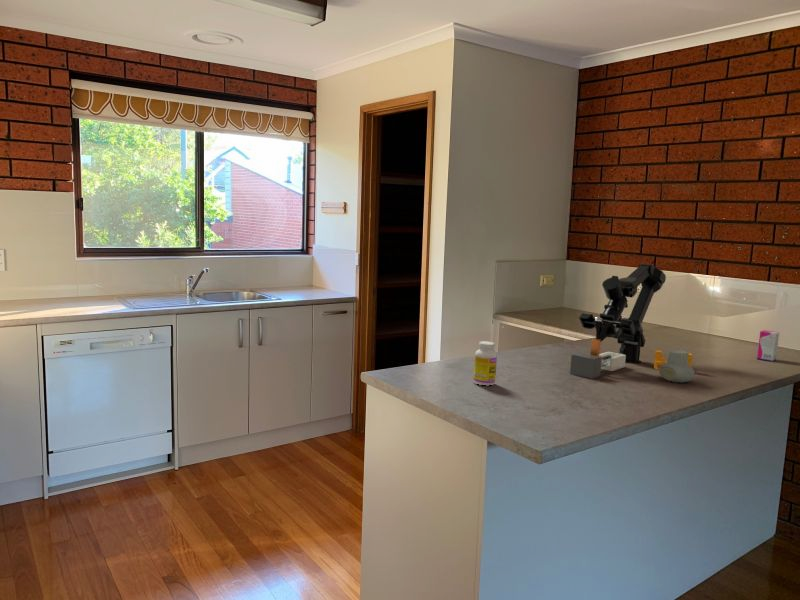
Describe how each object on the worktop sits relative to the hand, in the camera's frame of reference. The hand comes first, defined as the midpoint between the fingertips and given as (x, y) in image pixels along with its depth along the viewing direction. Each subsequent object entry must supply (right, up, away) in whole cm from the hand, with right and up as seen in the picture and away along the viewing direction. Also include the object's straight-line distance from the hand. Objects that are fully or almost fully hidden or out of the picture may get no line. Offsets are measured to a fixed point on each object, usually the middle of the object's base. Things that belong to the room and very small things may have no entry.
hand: (597, 342), depth 215 cm
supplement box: (+79, -10, +37) cm, 88 cm away
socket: (-5, -11, -4) cm, 12 cm away
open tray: (+7, -9, +10) cm, 15 cm away
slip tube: (+1, -9, +2) cm, 9 cm away
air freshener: (+24, -13, -5) cm, 28 cm away
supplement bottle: (-42, -11, -21) cm, 48 cm away
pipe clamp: (+30, -11, +10) cm, 33 cm away
